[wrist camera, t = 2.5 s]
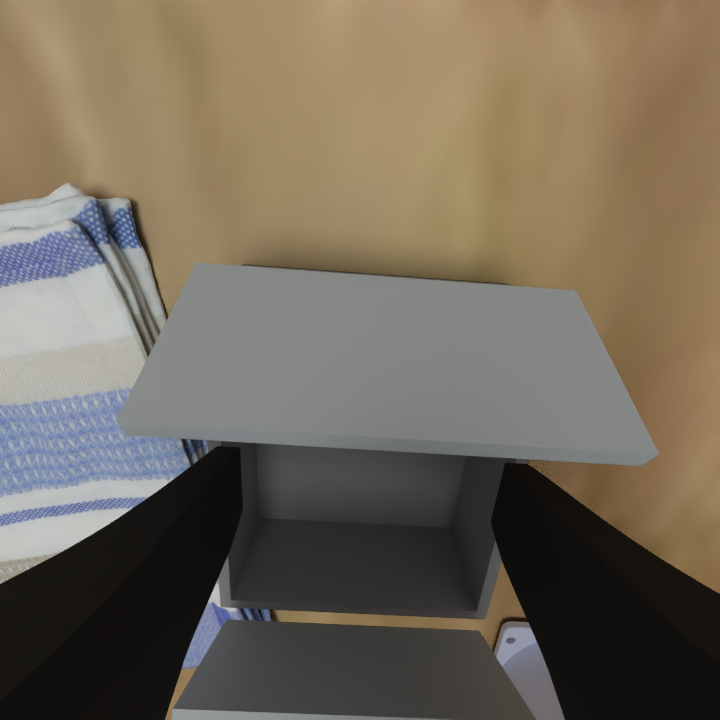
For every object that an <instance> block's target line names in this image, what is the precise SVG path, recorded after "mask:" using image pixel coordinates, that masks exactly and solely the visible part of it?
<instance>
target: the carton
mask: <svg viewBox="0 0 720 720" xmlns="http://www.w3.org/2000/svg"><path fill="white" fill-rule="evenodd" d="M241 266H251V267H265V268H278V269H292V270H305V271H319V272H332V273H346V274H359V275H373V276H386V277H400V278H413V279H427V280H440V281H454V282H468V283H481V284H495V285H508V286H511V285H509V284H502V283H488V282H475V281H461V280H448V279H434V278H421V277H407V276H394V275H380V274H367V273H353V272H340V271H326V270H313V269H299V268H286V267H272V266H259V265H245V264H243V265H241ZM207 442H208V452H210V451H211V450H212V449H214V448H215V447H217V446H226V447H240V455H241V476H242V498H243V510H242V514H241V517H240V521H239V524H238V528H237V531H236V534H235V538H234V541H233V544H232V547H231V549H230V552H229V554H228V557H227V559H226V561H225V564H224V566H223V568H222V571H221V573H220V575H219V578H218V581H219V593H220V606H221V607H226V608H248V609H269V610H291V611H313V612H334V613H356V614H378V615H399V616H421V617H443V618H464V619H486V615H487V611H488V608H489V604H490V600H491V597H492V593H493V589H494V586H495V582H496V579H497V575H498V571H499V568H500V564H501V560H502V559H501V556H500V553H499V550H498V547H497V543H496V540H495V536H494V532H493V529H492V525H491V517H492V513H493V509H494V505H495V501H496V497H497V493H498V489H499V485H500V481H501V477H502V473H503V469H504V465H505V463H520V464H528V461H529V459H515V458H498V457H482V456H465V455H448V454H431V453H415V452H398V451H381V450H364V449H347V448H331V447H314V446H297V445H280V444H264V443H247V442H230V441H213V440H207Z"/></svg>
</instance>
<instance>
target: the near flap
mask: <svg viewBox="0 0 720 720" xmlns="http://www.w3.org/2000/svg"><path fill="white" fill-rule="evenodd" d="M116 422H117V423H118V424H119V426H120V427H121V428H122V429H123V430H124V431H125V433H126V434H127V435H129V436H146V437H163V438H180V439H196V440H213V441H230V442H247V443H264V444H280V445H297V446H314V447H331V448H347V449H364V450H381V451H398V452H415V453H431V454H448V455H465V456H482V457H498V458H515V459H532V460H549V461H566V462H582V463H599V464H616V465H633V466H642V465H643V464H645V463H646V462H648V461H649V460H651V459H653V458H654V457H656V456H657V455H659V453H658V451H657V449H656V447H655V445H654V443H653V441H652V439H651V437H650V435H649V433H648V431H647V429H646V427H645V425H644V423H643V421H642V419H641V417H640V415H639V413H638V411H637V409H636V407H635V405H634V403H633V402H632V400H631V398H630V396H629V394H628V392H627V390H626V388H625V386H624V384H623V382H622V380H621V378H620V376H619V374H618V372H617V370H616V368H615V366H614V364H613V362H612V360H611V358H610V356H609V354H608V352H607V350H606V348H605V346H604V344H603V342H602V340H601V338H600V336H599V335H598V333H597V331H596V329H595V327H594V325H593V323H592V321H591V319H590V317H589V315H588V313H587V311H586V309H585V307H584V305H583V303H582V301H581V299H580V297H579V295H578V293H577V291H576V290H562V289H549V288H535V287H522V286H508V285H495V284H481V283H468V282H454V281H440V280H427V279H413V278H400V277H386V276H373V275H359V274H346V273H332V272H319V271H305V270H292V269H278V268H265V267H251V266H238V265H224V264H211V263H197V262H196V264H195V266H194V268H193V270H192V272H191V274H190V276H189V278H188V280H187V282H186V284H185V286H184V287H183V289H182V291H181V293H180V295H179V297H178V299H177V301H176V303H175V305H174V307H173V309H172V311H171V313H170V315H169V317H168V319H167V321H166V323H165V325H164V327H163V329H162V331H161V333H160V335H159V337H158V339H157V341H156V343H155V345H154V347H153V349H152V351H151V353H150V355H149V357H148V359H147V360H146V362H145V364H144V366H143V368H142V370H141V372H140V374H139V376H138V378H137V380H136V382H135V384H134V386H133V388H132V390H131V392H130V394H129V396H128V398H127V400H126V402H125V404H124V406H123V408H122V410H121V412H120V414H119V416H118V418H117V420H116Z"/></svg>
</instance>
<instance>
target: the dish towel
mask: <svg viewBox="0 0 720 720" xmlns="http://www.w3.org/2000/svg"><path fill="white" fill-rule="evenodd" d="M166 321H167V317H166V314H165V311H164V308H163V305H162V302H161V299H160V296H159V293H158V290H157V287H156V284H155V281H154V277H153V273H152V269H151V265H150V263H149V260H148V257H147V255H146V252H145V250H144V248H143V246H142V244H141V242H140V240H139V238H138V236H137V233H136V227H135V222H134V217H133V212H132V207H131V203H130V201H129V200H128V199H127V198H124V197H115V198H110V199H96V198H95V197H92V196H88V195H87V194H86V193H85V192H84V191H83V190H82V189H81V188H80V187H79V186H76V185H74V184H71V183H69V182H67V183H66V184H64V185H62V186H61V187H59V188H58V189H56V190H55V191H53V192H52V193H51V194H50V195H48V196H45V197H43V198H40V199H26V200H22V201H17V202H12V203H6V204H1V205H0V584H1V583H3V582H4V581H6V580H8V579H10V578H12V577H14V576H16V575H18V574H20V573H22V572H24V571H26V570H28V569H30V568H32V567H34V566H36V565H38V564H39V563H41V562H43V561H45V560H47V559H49V558H51V557H53V556H55V555H57V554H59V553H60V552H62V551H64V550H66V549H68V548H69V547H71V546H73V545H75V544H76V543H78V542H80V541H81V540H83V539H85V538H87V537H88V536H90V535H92V534H93V533H95V532H97V531H98V530H100V529H102V528H103V527H105V526H106V525H108V524H110V523H111V522H113V521H114V520H116V519H118V518H119V517H120V516H122V515H123V514H125V513H126V512H128V511H129V510H131V509H132V508H134V507H135V506H137V505H138V504H139V503H141V502H142V501H144V500H145V499H147V498H148V497H150V496H151V495H153V494H154V493H156V492H157V491H158V490H160V489H161V488H162V487H164V486H165V485H166V484H168V483H169V482H170V481H172V480H173V479H174V478H176V477H177V476H178V475H180V474H181V473H182V472H184V471H185V470H186V469H188V468H189V467H190V466H192V465H193V464H194V463H195V462H197V461H198V460H199V459H201V458H202V457H203V456H205V455H206V454H207V453H208V442H207V440H196V439H180V438H163V437H146V436H129V435H127V434H126V433H125V431H124V430H123V429H122V428H121V427H120V426H119V424H118V423H117V422H116V420H117V418H118V416H119V414H120V412H121V410H122V408H123V406H124V404H125V402H126V400H127V398H128V396H129V394H130V392H131V390H132V388H133V386H134V384H135V382H136V380H137V378H138V376H139V374H140V372H141V370H142V368H143V366H144V364H145V362H146V360H147V359H148V357H149V355H150V353H151V351H152V349H153V347H154V345H155V343H156V341H157V339H158V337H159V335H160V333H161V331H162V329H163V327H164V325H165V323H166ZM226 619H230V620H252V621H272V620H271V617H270V612H269V609H248V608H226V607H221V606H220V593H219V581H218V580H217V582H216V585H215V587H214V589H213V592H212V594H211V596H210V599H209V601H208V603H207V606H206V608H205V610H204V613H203V615H202V617H201V620H200V622H199V624H198V627H197V629H196V631H195V634H194V636H193V639H192V641H191V644H190V647H189V649H188V652H187V654H186V657H185V660H184V663H183V666H182V668H192V667H198V666H199V664H200V663H201V661H202V659H203V658H204V656H205V654H206V653H207V651H208V649H209V648H210V646H211V644H212V643H213V641H214V639H215V638H216V636H217V634H218V632H219V631H220V629H221V627H222V626H223V624H224V622H225V621H226Z"/></svg>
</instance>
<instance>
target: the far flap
mask: <svg viewBox="0 0 720 720" xmlns="http://www.w3.org/2000/svg"><path fill="white" fill-rule="evenodd" d="M171 720H536V718H535V717H534V715H533V714H532V712H531V711H530V709H529V707H528V706H527V704H526V703H525V701H524V700H523V698H522V697H521V695H520V693H519V692H518V690H517V689H516V687H515V686H514V684H513V683H512V681H511V680H510V678H509V676H508V675H507V673H506V672H505V670H504V669H503V667H502V666H501V664H500V663H499V661H498V659H497V658H496V656H495V655H494V653H493V652H492V650H491V649H490V647H489V646H488V644H487V642H486V641H485V639H484V638H483V636H482V635H481V633H480V632H479V631H473V630H451V629H429V628H407V627H385V626H363V625H341V624H318V623H296V622H274V621H252V620H230V619H226V621H225V622H224V624H223V626H222V627H221V629H220V631H219V632H218V634H217V636H216V638H215V639H214V641H213V643H212V644H211V646H210V648H209V649H208V651H207V653H206V654H205V656H204V658H203V659H202V661H201V663H200V664H199V666H198V668H197V669H196V671H195V673H194V674H193V676H192V678H191V679H190V681H189V683H188V684H187V686H186V688H185V689H184V691H183V693H182V694H181V696H180V698H179V699H178V701H177V703H176V704H175V706H174V708H173V711H172V719H171Z"/></svg>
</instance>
